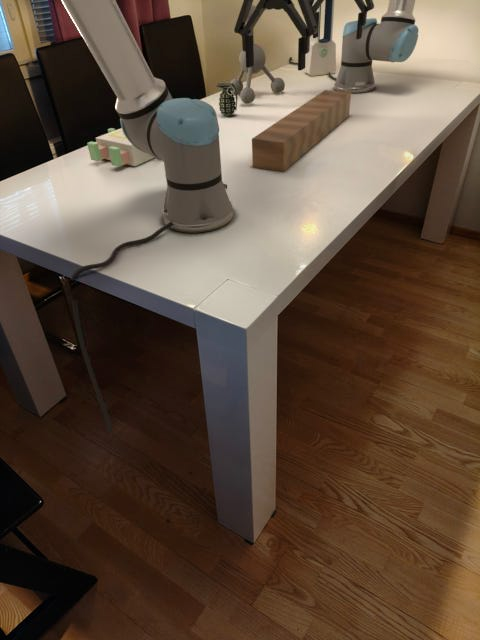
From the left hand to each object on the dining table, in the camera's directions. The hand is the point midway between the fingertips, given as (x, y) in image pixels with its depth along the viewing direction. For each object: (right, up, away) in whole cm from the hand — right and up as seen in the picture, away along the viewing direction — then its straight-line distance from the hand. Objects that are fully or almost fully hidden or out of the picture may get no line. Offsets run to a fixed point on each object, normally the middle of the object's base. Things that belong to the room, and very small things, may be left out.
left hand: (275, 68), depth 117 cm
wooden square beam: (+11, -6, +29) cm, 32 cm away
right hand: (+21, +25, +30) cm, 44 cm away
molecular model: (-1, +26, +71) cm, 76 cm away
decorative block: (-38, -12, +26) cm, 48 cm away
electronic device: (+27, +48, +98) cm, 112 cm away
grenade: (-12, +11, +53) cm, 55 cm away
